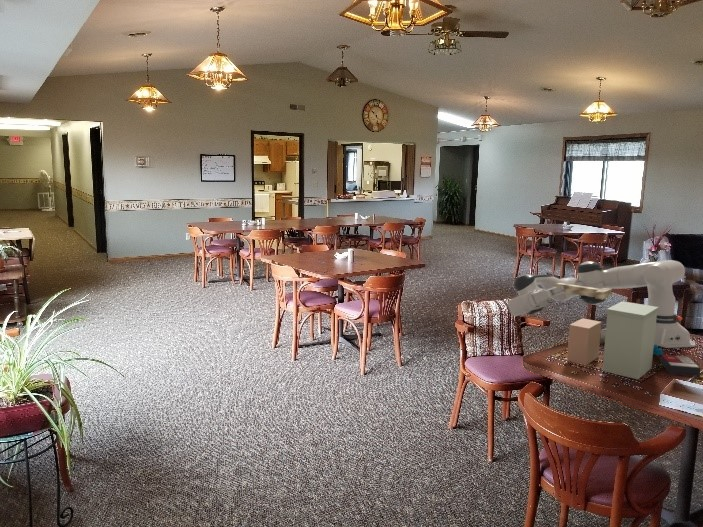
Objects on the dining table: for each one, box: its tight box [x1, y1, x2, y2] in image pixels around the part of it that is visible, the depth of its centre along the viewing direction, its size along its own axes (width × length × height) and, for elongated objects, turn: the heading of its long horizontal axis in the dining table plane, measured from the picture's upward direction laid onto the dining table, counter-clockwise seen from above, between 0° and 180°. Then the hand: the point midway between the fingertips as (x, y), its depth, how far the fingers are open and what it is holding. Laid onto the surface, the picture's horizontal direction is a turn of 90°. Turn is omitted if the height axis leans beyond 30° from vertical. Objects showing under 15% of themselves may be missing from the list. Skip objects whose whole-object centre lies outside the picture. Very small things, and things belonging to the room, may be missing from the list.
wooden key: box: [556, 283, 613, 300], centre depth 231 cm, size 21×10×3 cm, turn 46°
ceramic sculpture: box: [600, 328, 606, 344], centre depth 254 cm, size 11×9×15 cm
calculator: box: [659, 354, 701, 377], centre depth 223 cm, size 11×4×15 cm
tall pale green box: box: [602, 300, 659, 380], centre depth 220 cm, size 14×18×26 cm
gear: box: [653, 345, 664, 357], centre depth 237 cm, size 11×6×10 cm
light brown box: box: [566, 318, 602, 366], centre depth 233 cm, size 8×14×16 cm, turn 136°
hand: (566, 286), depth 235 cm, fingers closed on wooden key, 3 cm apart
